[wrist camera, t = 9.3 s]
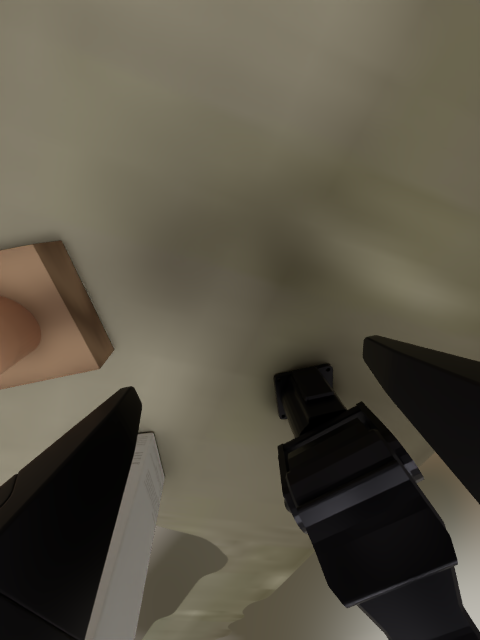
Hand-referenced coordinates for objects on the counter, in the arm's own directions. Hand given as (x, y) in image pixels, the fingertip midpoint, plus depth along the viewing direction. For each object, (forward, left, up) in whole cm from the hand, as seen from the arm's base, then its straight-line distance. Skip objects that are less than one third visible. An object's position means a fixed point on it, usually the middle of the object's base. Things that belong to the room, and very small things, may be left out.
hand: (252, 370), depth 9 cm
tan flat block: (+1, +17, -12) cm, 21 cm away
